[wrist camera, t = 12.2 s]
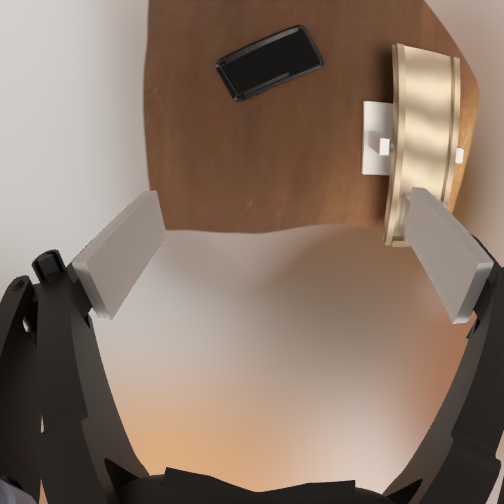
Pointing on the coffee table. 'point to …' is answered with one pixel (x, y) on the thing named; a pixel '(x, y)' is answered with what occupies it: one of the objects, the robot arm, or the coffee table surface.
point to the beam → (421, 129)
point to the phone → (269, 62)
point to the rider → (404, 214)
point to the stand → (381, 138)
